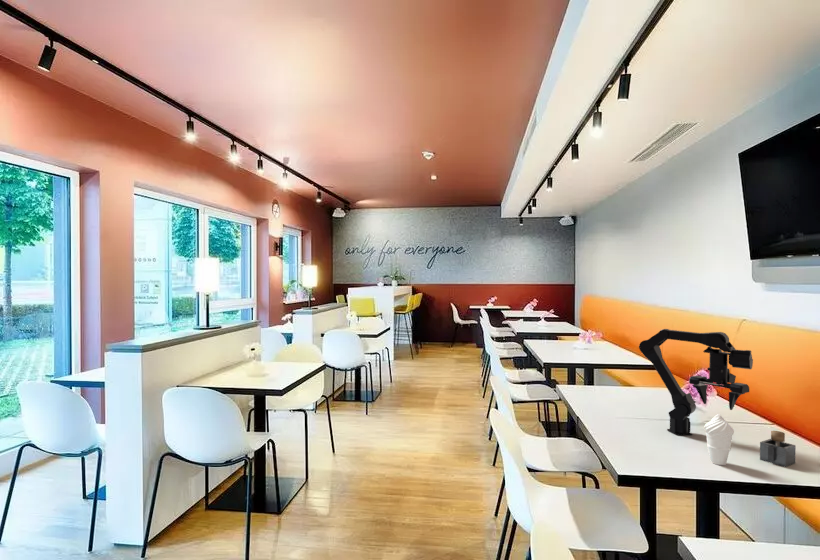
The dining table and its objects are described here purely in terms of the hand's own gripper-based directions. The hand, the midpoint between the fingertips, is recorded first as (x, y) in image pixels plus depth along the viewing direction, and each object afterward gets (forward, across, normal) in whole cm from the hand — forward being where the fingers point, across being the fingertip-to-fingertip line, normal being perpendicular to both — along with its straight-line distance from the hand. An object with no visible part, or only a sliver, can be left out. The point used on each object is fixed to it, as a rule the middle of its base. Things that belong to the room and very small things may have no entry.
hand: (717, 406), depth 176 cm
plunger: (+11, -21, +3) cm, 23 cm away
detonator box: (+13, -20, +3) cm, 25 cm away
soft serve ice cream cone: (+13, -12, +23) cm, 29 cm away
